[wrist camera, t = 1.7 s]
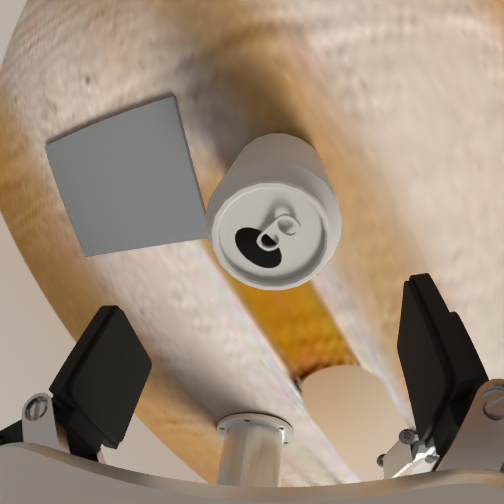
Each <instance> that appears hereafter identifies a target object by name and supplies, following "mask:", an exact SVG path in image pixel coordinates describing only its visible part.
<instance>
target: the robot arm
mask: <svg viewBox="0 0 504 504" xmlns="http://www.w3.org/2000/svg"><path fill="white" fill-rule="evenodd" d="M397 349H398V355H399V358H400V362H401V366H402V369H403V373H404V377H405V381H406V385H407V389H408V393H409V398H410V402H411V406H412V411H413V416H414V420H415V425H416V430H417V435H418V439H419V440H420V441H422V440H424V442H425V447H426V448H429V447H433V446H435V450H436V454H437V455H439V457H438V459H437V460H436V462H435V464H434V465H433V467H432V469H431V470H430V472H426V473H420V474H414V475H408V476H401V477H395V478H389V479H383V480H376V481H369V482H361V483H351V484H340V485H329V486H313V487H280V485H281V472H282V459H283V448H284V447H286V446H287V445H289V444H290V443H291V442H292V441H293V438H294V432H293V429H292V427H291V426H290V425H289V424H288V423H286V422H284V421H283V420H281V419H278V418H276V417H272V416H269V415H263V414H255V413H242V414H234V415H230V416H227V417H225V418H223V419H221V420H220V421H219V423H218V425H217V430H216V431H217V435H218V436H219V437H220V438H221V439H222V440H223V441H224V445H223V450H222V455H221V460H220V465H219V470H218V476H217V481H216V484H207V483H198V482H191V481H183V480H177V479H170V478H165V477H159V476H153V475H149V474H144V473H139V472H134V471H130V470H126V469H122V468H118V467H113V466H110V465H106V463H105V460H104V457H103V454H102V451H101V448H100V447H101V444H103V445H104V446H105V447H110V448H113V449H117V447H118V445H119V443H120V442H121V441H122V440H123V439H124V436H125V433H126V431H127V428H128V425H129V423H130V420H131V418H132V415H133V413H134V410H135V408H136V405H137V403H138V400H139V398H140V395H141V393H142V390H143V388H144V385H145V383H146V380H147V378H148V375H149V373H150V371H151V367H152V363H151V359H150V358H149V356H148V354H147V353H146V351H145V349H144V347H143V346H142V344H141V342H140V341H139V339H138V337H137V335H136V334H135V332H134V330H133V328H132V326H131V325H130V323H129V321H128V319H127V317H126V315H125V313H124V312H123V310H121V309H120V308H119V307H118V306H116V305H110V306H102V307H101V308H100V309H99V310H98V312H97V313H96V315H95V316H94V317H93V319H92V320H91V322H90V323H89V325H88V327H87V328H86V330H85V331H84V333H83V334H82V336H81V337H80V339H79V340H78V342H77V343H76V345H75V347H74V348H73V350H72V351H71V353H70V355H69V356H68V358H67V360H66V361H65V363H64V364H63V366H62V368H61V369H60V371H59V373H58V374H57V376H56V378H55V379H54V381H53V383H52V384H51V386H50V388H49V390H50V392H51V393H52V394H53V397H52V398H51V397H50V396H49V395H48V394H46V393H38V394H35V395H34V396H32V397H31V398H30V399H29V400H28V401H27V402H26V404H25V405H24V407H23V410H22V419H21V420H19V421H18V422H16V423H14V424H12V425H10V426H8V427H7V428H5V429H3V430H1V431H0V504H504V379H492V380H490V381H489V379H488V376H487V374H486V372H485V369H484V367H483V365H482V362H481V360H480V358H479V356H478V354H477V351H476V349H475V347H474V345H473V343H472V341H471V339H470V337H469V335H468V333H467V331H466V329H465V327H464V325H463V323H462V321H461V319H460V317H459V315H458V314H457V313H456V312H449V310H448V308H447V306H446V304H445V302H444V300H443V298H442V296H441V295H440V293H439V291H438V289H437V287H436V285H435V284H434V282H433V280H432V278H431V276H430V275H429V274H428V273H424V274H418V275H411V276H410V278H409V281H405V282H404V289H403V300H402V309H401V318H400V326H399V334H398V341H397Z"/></svg>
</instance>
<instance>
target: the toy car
mask: <svg viewBox="0 0 504 504" xmlns="http://www.w3.org/2000/svg"><path fill="white" fill-rule="evenodd" d="M438 457H439V455H437V454H436V450H435V446H433V447H429V448H426V447H425V442H424V440H422V441H420V440H419V439H418V435H417V434H414V432H413V431H412V430H410V429H404V430H402V431H401V432H400V434H399V441H398V442H397V443H396V444H395V445H394V446H393V447H392V448H391V449H390V450H389V451H388V453H387V454H381V455H380V456H379V457H378V458H377V464H378V465H379V466H380V467H383V469H384V478H385V479H389V478H395V477H397V476H398V475H399V474H401V473H402V472H403V471H404V470H405V469H406V468H408V467H409V466H410V465H411V464H412V463H413V461H417V460H418V459H419V458H425V461H426V462H427V463H432V462H433V461H436V460H437V459H438Z"/></svg>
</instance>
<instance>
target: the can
mask: <svg viewBox="0 0 504 504" xmlns="http://www.w3.org/2000/svg"><path fill="white" fill-rule="evenodd" d="M205 223H206V232H207V238H208V240H209V242H210V244H211V246H212V249H213V251H214V253H215V255H216V257H217V259H218V261H219V263H220V264H221V265H222V266H223V268H224V269H225V270H226V271H227V272H228V273H229V274H230V275H231V276H232V277H234V278H236V279H237V280H239V281H241V282H242V283H244V284H246V285H248V286H252V287H255V288H259V289H262V290H284V289H288V288H292V287H296V286H299V285H301V284H303V283H304V282H306V281H308V280H310V279H311V278H313V277H314V276H315V275H316V274H317V273H318V272H319V271H320V270H321V269H322V268H323V267H324V266H325V264H326V262H327V261H328V260H329V259H330V258H331V257H332V255H333V253H334V251H335V249H336V247H337V244H338V242H339V240H340V235H341V223H342V218H341V214H340V210H339V207H338V203H337V199H336V197H335V194H334V191H333V189H332V186H331V184H330V181H329V179H328V176H327V174H326V171H325V169H324V166H323V164H322V161H321V159H320V157H319V156H318V155H317V153H316V152H315V150H314V149H313V148H312V147H311V146H310V145H309V144H307V143H306V142H305V141H303V140H302V139H300V138H298V137H295V136H292V135H289V134H285V133H271V134H267V135H264V136H261V137H258V138H256V139H254V140H253V141H251V142H250V143H249V144H247V145H246V146H245V147H244V148H243V149H242V151H241V152H240V154H239V155H238V157H237V158H236V159H235V161H234V162H233V164H232V165H231V167H230V168H229V170H228V171H227V173H226V174H225V175H224V177H223V178H222V180H221V181H220V183H219V184H218V186H217V188H216V189H215V191H214V192H213V194H212V195H211V197H210V198H209V202H208V206H207V211H206V215H205Z"/></svg>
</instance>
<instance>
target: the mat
mask: <svg viewBox="0 0 504 504" xmlns="http://www.w3.org/2000/svg"><path fill="white" fill-rule="evenodd" d="M45 150H46V153H47V156H48V160H49V163H50V166H51V169H52V172H53V175H54V178H55V181H56V184H57V187H58V189H59V192H60V195H61V198H62V200H63V203H64V206H65V208H66V211H67V214H68V216H69V219H70V221H71V224H72V226H73V229H74V231H75V233H76V236H77V238H78V241H79V243H80V245H81V248H82V250H83V252H84V254H85V257H88V256H94V255H100V254H106V253H112V252H119V251H125V250H131V249H138V248H144V247H150V246H157V245H164V244H170V243H177V242H183V241H190V240H197V239H204V238H207V232H206V223H205V215H206V211H205V207H204V204H203V200H202V196H201V193H200V189H199V185H198V182H197V178H196V174H195V171H194V167H193V163H192V159H191V156H190V152H189V148H188V144H187V140H186V136H185V132H184V129H183V125H182V121H181V117H180V113H179V109H178V105H177V101H176V97H175V96H172V97H169V98H166V99H162V100H159V101H156V102H153V103H150V104H147V105H144V106H141V107H138V108H135V109H132V110H129V111H127V112H124V113H121V114H119V115H116V116H113V117H111V118H108V119H105V120H103V121H100V122H98V123H95V124H93V125H91V126H88V127H86V128H84V129H81V130H79V131H77V132H74V133H72V134H70V135H68V136H65V137H63V138H61V139H59V140H57V141H55V142H53V143H51V144H49V145H47V146H45Z"/></svg>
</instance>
